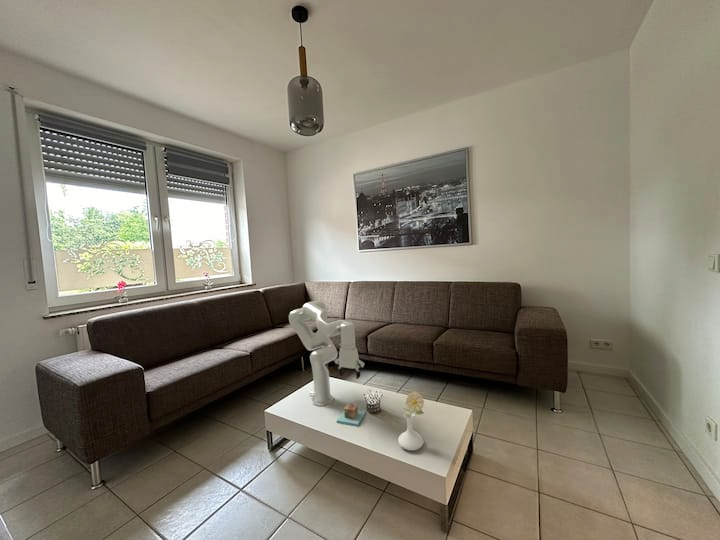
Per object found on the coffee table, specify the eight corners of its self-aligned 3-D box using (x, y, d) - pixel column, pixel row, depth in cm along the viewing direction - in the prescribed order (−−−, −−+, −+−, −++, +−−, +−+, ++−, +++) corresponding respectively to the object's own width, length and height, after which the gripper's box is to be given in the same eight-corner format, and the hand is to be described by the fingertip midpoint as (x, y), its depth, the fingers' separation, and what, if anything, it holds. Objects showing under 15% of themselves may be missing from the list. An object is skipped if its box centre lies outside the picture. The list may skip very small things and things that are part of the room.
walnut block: (344, 417, 150) (344, 408, 150) (348, 412, 155) (348, 403, 155) (354, 419, 148) (353, 410, 148) (358, 413, 153) (357, 404, 153)
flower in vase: (394, 448, 126) (390, 394, 125) (404, 433, 136) (401, 383, 134) (422, 457, 119) (419, 400, 118) (430, 441, 129) (428, 388, 127)
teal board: (336, 422, 148) (336, 420, 148) (346, 410, 159) (345, 408, 159) (357, 426, 144) (357, 424, 144) (365, 413, 155) (365, 411, 155)
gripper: (330, 346, 151) (332, 377, 152) (360, 349, 144) (362, 382, 146) (337, 342, 158) (338, 371, 159) (365, 344, 151) (367, 375, 153)
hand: (349, 376), depth 153 cm, fingers open, 9 cm apart
